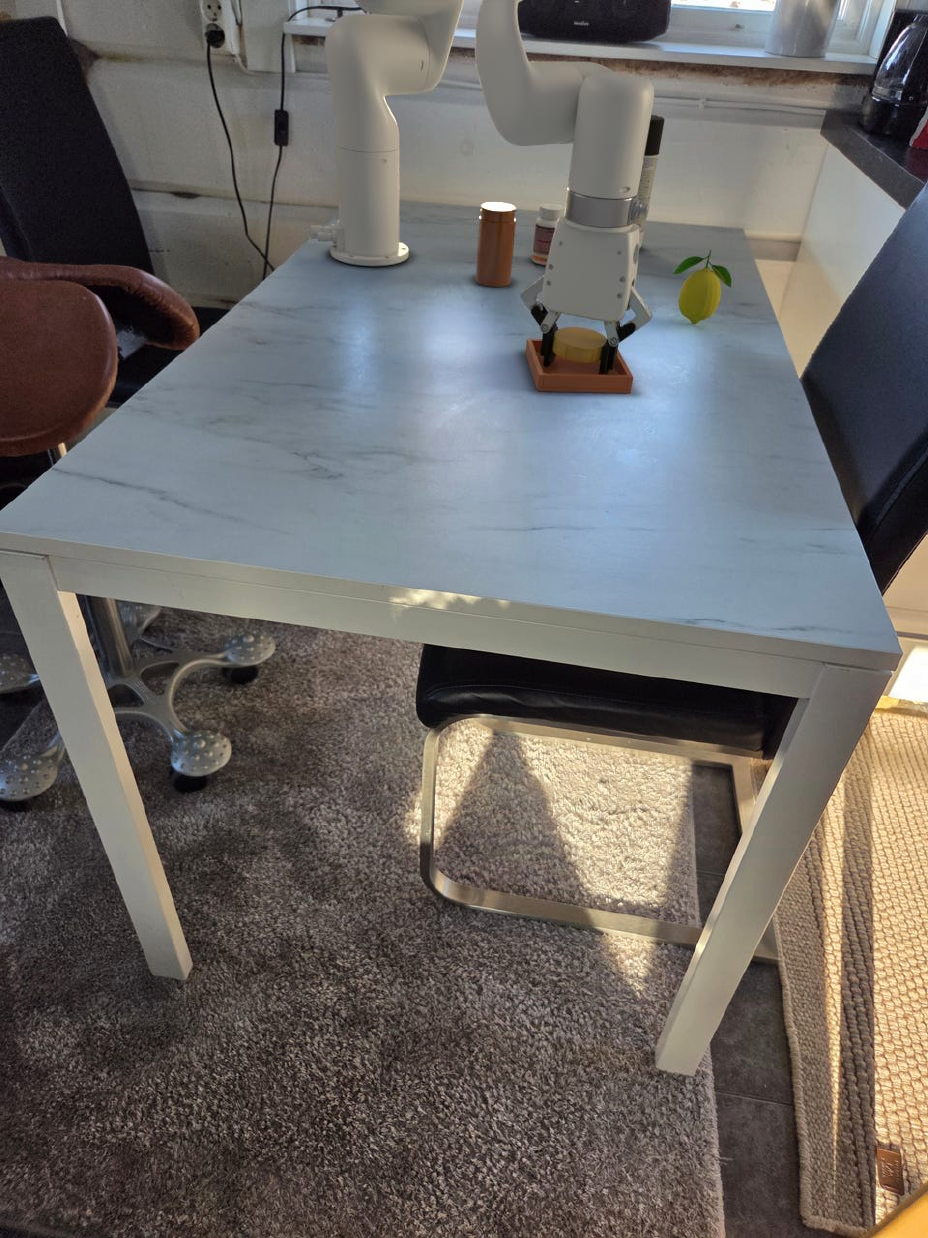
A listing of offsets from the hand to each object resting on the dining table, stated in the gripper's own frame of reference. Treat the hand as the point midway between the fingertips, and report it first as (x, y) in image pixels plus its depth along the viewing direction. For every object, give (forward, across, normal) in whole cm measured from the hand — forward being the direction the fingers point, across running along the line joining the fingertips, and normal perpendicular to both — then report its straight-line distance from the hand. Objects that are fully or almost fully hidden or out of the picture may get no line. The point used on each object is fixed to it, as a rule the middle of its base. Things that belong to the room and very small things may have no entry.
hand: (576, 366), depth 101 cm
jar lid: (-3, 0, 0) cm, 3 cm away
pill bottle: (+1, +16, -42) cm, 45 cm away
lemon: (+1, -11, -25) cm, 27 cm away
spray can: (+1, +7, -57) cm, 58 cm away
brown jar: (+1, +21, -28) cm, 35 cm away
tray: (+1, 0, 0) cm, 1 cm away
